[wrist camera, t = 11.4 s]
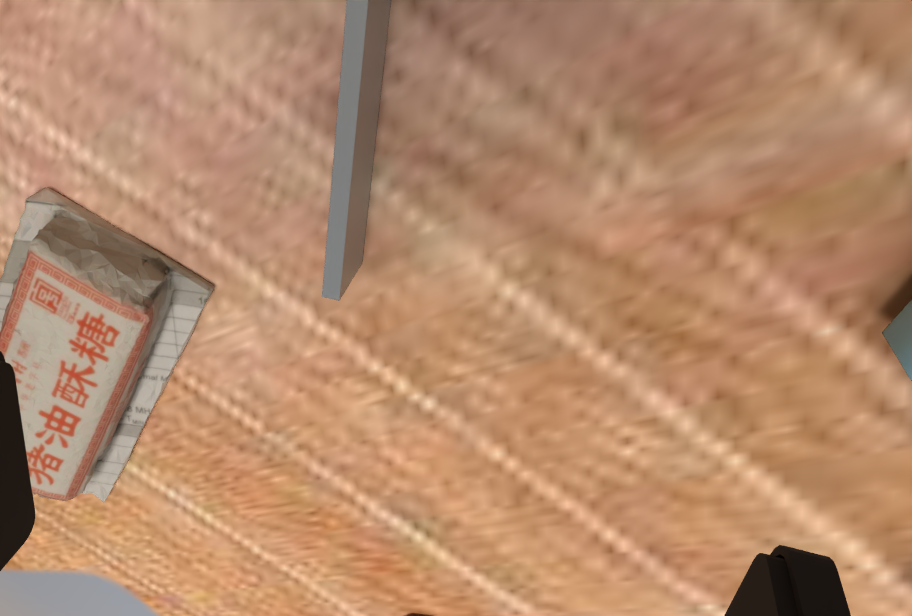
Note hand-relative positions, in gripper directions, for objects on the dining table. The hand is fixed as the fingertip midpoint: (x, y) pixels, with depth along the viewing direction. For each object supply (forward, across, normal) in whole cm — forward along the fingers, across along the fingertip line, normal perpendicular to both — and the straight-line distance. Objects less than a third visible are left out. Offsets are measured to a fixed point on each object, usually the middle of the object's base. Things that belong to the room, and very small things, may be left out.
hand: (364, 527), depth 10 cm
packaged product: (+27, +22, +21) cm, 41 cm away
